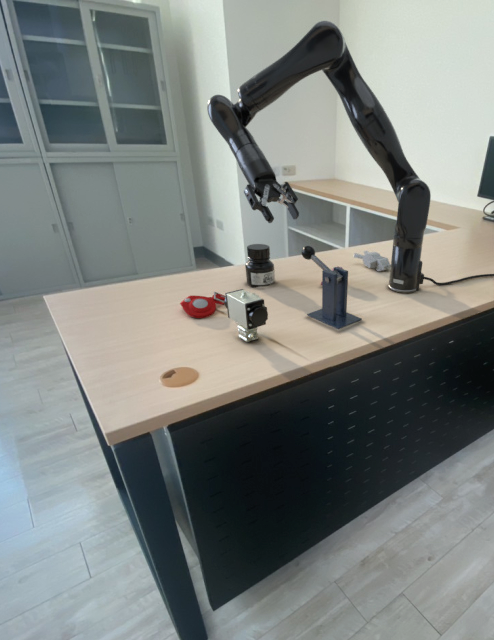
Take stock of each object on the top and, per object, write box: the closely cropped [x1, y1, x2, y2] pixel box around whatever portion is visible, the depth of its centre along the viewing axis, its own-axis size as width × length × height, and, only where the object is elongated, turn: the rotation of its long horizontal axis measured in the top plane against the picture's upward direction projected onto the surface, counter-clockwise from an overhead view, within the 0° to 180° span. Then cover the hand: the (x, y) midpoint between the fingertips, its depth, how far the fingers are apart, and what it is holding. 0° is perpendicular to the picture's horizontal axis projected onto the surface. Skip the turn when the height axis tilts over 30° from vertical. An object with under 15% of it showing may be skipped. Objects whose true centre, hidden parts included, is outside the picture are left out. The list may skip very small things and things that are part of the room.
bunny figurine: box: [352, 250, 391, 272], centre depth 152 cm, size 10×5×15 cm
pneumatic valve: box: [223, 288, 269, 343], centre depth 96 cm, size 6×12×12 cm, turn 46°
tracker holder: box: [179, 291, 226, 319], centre depth 111 cm, size 12×4×10 cm
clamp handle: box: [301, 245, 343, 284], centre depth 106 cm, size 14×4×4 cm, turn 49°
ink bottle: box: [245, 243, 276, 289], centre depth 128 cm, size 10×9×12 cm
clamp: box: [306, 266, 363, 330], centre depth 107 cm, size 12×9×14 cm
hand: (284, 219), depth 109 cm, fingers open, 8 cm apart
